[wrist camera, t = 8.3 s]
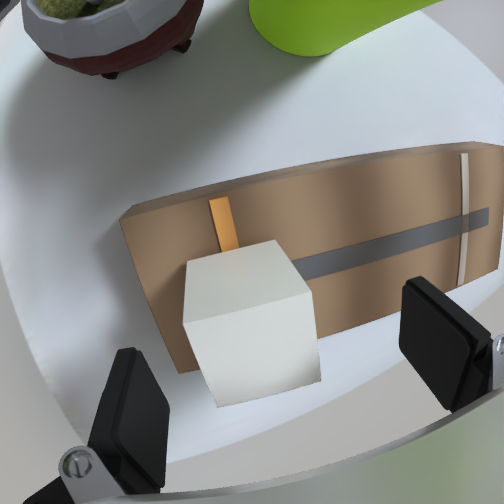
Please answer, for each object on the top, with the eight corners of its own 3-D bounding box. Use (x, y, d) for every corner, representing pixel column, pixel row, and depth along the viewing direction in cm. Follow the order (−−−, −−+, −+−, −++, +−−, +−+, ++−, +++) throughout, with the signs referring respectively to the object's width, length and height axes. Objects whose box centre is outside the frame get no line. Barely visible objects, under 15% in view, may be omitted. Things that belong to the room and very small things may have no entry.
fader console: (474, 141, 18) (531, 151, 12) (473, 254, 21) (520, 282, 16) (132, 205, 16) (103, 237, 11) (180, 342, 19) (177, 405, 14)
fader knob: (275, 239, 14) (311, 291, 10) (288, 313, 16) (321, 380, 11) (187, 261, 14) (182, 323, 9) (210, 333, 15) (217, 407, 11)
